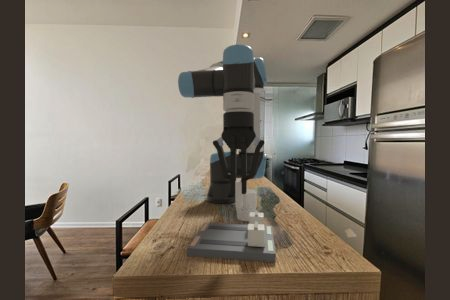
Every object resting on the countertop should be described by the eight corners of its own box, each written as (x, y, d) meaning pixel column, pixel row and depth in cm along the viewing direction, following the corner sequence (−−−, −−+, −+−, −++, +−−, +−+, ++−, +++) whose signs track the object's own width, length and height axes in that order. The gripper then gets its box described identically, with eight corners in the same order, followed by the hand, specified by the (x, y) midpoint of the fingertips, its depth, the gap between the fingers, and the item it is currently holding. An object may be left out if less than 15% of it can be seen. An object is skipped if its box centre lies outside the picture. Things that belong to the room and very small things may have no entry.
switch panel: (204, 228, 74) (204, 222, 73) (271, 232, 70) (271, 225, 70) (186, 256, 56) (186, 247, 56) (275, 262, 53) (275, 253, 53)
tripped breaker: (248, 238, 60) (248, 221, 59) (264, 239, 59) (264, 222, 59) (247, 246, 55) (247, 227, 55) (264, 247, 55) (264, 227, 55)
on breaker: (250, 225, 69) (250, 210, 69) (263, 225, 69) (263, 210, 69) (249, 230, 65) (249, 214, 65) (263, 231, 65) (263, 214, 64)
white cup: (256, 222, 79) (256, 193, 79) (233, 221, 80) (233, 192, 80) (257, 215, 87) (257, 189, 86) (237, 214, 88) (236, 188, 88)
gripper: (209, 110, 54) (210, 210, 55) (265, 109, 52) (265, 212, 53) (215, 114, 62) (216, 201, 63) (264, 113, 60) (264, 203, 61)
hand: (239, 206), depth 58 cm, fingers closed
